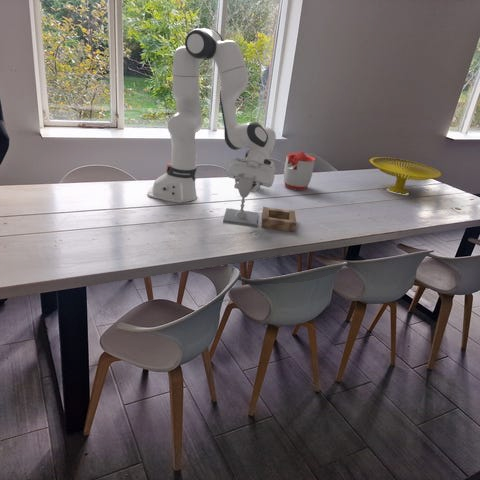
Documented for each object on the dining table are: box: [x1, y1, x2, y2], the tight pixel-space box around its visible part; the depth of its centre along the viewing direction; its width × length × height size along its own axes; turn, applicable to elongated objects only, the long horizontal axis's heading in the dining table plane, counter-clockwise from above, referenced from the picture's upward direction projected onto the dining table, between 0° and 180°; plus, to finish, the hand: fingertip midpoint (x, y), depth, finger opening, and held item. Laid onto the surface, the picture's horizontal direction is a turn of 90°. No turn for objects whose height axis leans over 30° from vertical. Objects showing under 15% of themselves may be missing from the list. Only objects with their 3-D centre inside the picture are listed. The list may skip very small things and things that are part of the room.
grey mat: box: [222, 207, 259, 228], centre depth 184 cm, size 14×14×1 cm
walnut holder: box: [260, 206, 297, 233], centre depth 183 cm, size 14×14×4 cm
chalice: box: [235, 173, 255, 218], centre depth 180 cm, size 7×7×18 cm
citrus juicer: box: [283, 150, 316, 191], centre depth 230 cm, size 16×17×20 cm
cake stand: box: [369, 156, 442, 194], centre depth 248 cm, size 40×40×15 cm
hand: (244, 190), depth 178 cm, fingers closed on chalice, 6 cm apart
